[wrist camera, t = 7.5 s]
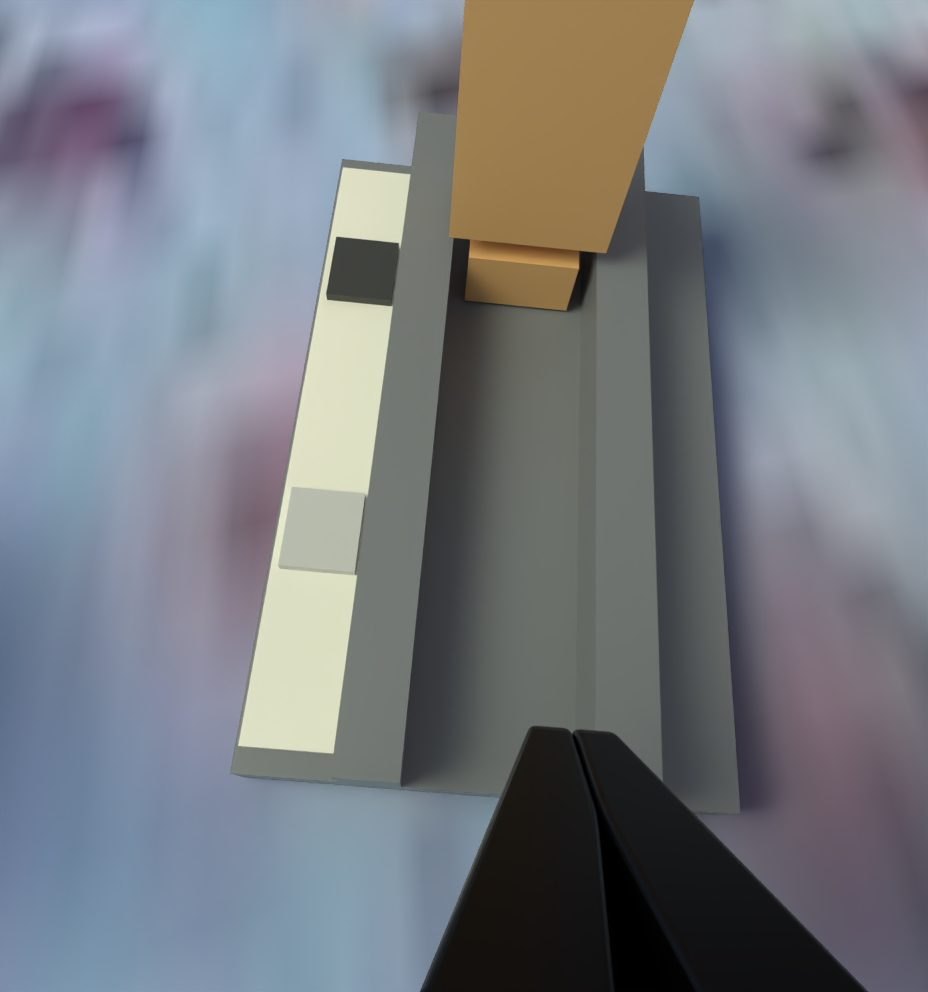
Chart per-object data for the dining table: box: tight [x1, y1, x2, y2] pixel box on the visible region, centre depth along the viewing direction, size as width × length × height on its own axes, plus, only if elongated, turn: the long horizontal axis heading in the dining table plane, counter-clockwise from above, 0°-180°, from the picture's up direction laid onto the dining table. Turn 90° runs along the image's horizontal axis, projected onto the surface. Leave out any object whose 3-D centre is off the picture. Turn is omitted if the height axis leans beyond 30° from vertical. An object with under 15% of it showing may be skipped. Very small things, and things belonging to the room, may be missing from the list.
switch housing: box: [230, 112, 740, 814], centre depth 18 cm, size 16×10×3 cm, turn 176°
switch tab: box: [449, 0, 694, 311], centre depth 14 cm, size 2×4×11 cm, turn 86°
